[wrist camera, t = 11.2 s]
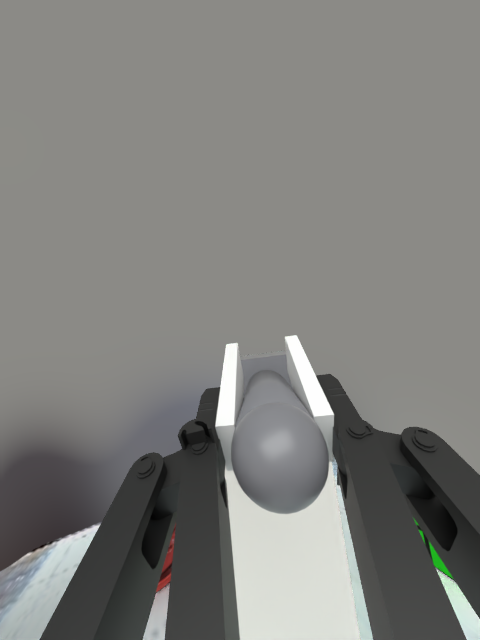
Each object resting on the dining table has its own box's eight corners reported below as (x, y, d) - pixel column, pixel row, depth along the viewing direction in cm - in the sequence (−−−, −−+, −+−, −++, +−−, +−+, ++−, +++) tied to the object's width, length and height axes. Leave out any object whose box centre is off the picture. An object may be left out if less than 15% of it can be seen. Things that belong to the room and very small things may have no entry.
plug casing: (243, 394, 29) (238, 355, 29) (290, 389, 28) (284, 350, 29) (183, 591, 6) (166, 396, 6) (421, 578, 5) (380, 370, 6)
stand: (252, 590, 35) (231, 410, 38) (330, 586, 34) (302, 403, 37) (247, 749, 21) (215, 446, 25) (379, 751, 20) (327, 436, 24)
